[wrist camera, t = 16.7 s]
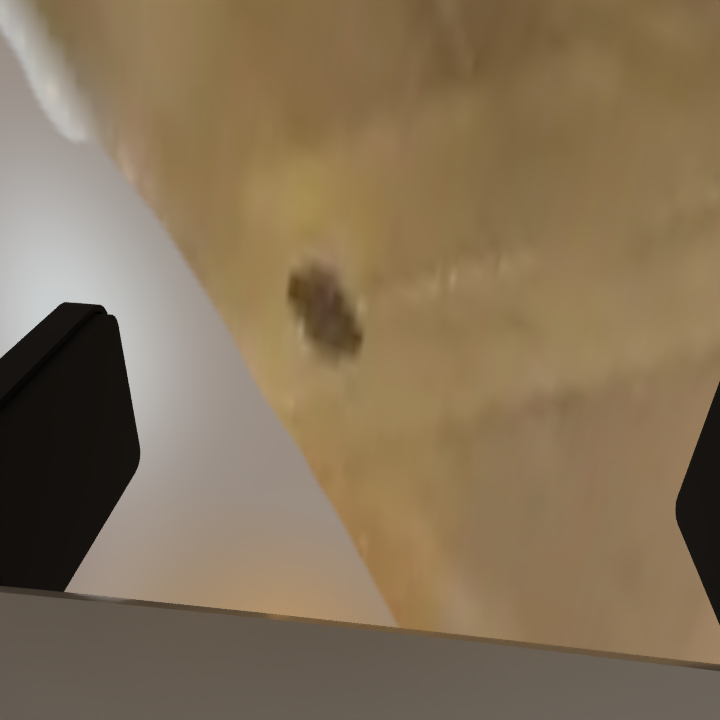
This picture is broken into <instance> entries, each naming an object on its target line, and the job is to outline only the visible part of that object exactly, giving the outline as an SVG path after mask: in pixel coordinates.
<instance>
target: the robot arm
mask: <svg viewBox="0 0 720 720" xmlns="http://www.w3.org/2000/svg"><path fill="white" fill-rule="evenodd" d="M139 460H140V445H139V439H138V434H137V428H136V423H135V417H134V411H133V406H132V400H131V394H130V388H129V383H128V377H127V371H126V366H125V360H124V354H123V349H122V343H121V337H120V332H119V326H118V322H117V319H116V318H115V316H113V315H108V314H107V311H106V310H105V308H104V307H103V306H101V305H95V304H82V303H69V302H64V303H62V304H60V305H59V306H58V307H57V308H56V309H55V310H54V311H53V312H51V313H50V314H49V315H48V316H47V317H46V318H45V319H44V320H43V321H41V322H40V323H39V324H38V325H37V326H36V327H35V328H34V329H33V330H31V331H30V332H29V333H28V334H27V335H26V336H25V337H24V338H22V339H21V340H20V341H19V342H18V343H17V344H16V345H15V346H14V347H12V349H10V350H9V351H8V352H7V353H6V354H5V355H4V356H3V357H2V358H0V720H720V665H719V664H710V663H702V662H693V661H685V660H676V659H667V658H659V657H650V656H641V655H633V654H624V653H616V652H607V651H598V650H590V649H581V648H573V647H564V646H555V645H547V644H538V643H530V642H521V641H512V640H503V639H494V638H485V637H476V636H467V635H458V634H450V633H441V632H432V631H423V630H414V629H405V628H396V627H387V626H377V625H369V624H359V623H349V622H341V621H332V620H322V619H313V618H304V617H295V616H286V615H277V614H267V613H259V612H248V611H240V610H229V609H220V608H211V607H202V606H201V607H200V606H191V605H182V604H173V603H163V602H153V601H144V600H134V599H125V598H116V597H106V596H97V595H87V594H77V593H68V592H64V591H65V589H66V587H67V586H68V584H69V582H70V581H71V579H72V577H73V576H74V574H75V572H76V571H77V569H78V567H79V565H80V564H81V562H82V561H83V559H84V557H85V555H86V554H87V552H88V551H89V549H90V547H91V546H92V544H93V542H94V541H95V539H96V537H97V536H98V534H99V532H100V530H101V529H102V527H103V525H104V524H105V522H106V521H107V519H108V517H109V516H110V514H111V512H112V511H113V509H114V507H115V506H116V504H117V502H118V501H119V499H120V497H121V496H122V494H123V492H124V491H125V489H126V487H127V485H128V484H129V482H130V480H131V479H132V477H133V475H134V474H135V472H136V470H137V467H138V465H139ZM676 520H677V523H678V526H679V528H680V531H681V533H682V535H683V538H684V540H685V543H686V545H687V547H688V550H689V552H690V555H691V557H692V559H693V562H694V564H695V567H696V569H697V571H698V574H699V576H700V579H701V581H702V584H703V586H704V588H705V591H706V593H707V596H708V598H709V600H710V603H711V605H712V608H713V610H714V612H715V615H716V617H717V620H718V622H719V624H720V382H719V385H718V387H717V390H716V393H715V396H714V398H713V401H712V404H711V407H710V409H709V412H708V415H707V418H706V420H705V423H704V426H703V429H702V431H701V434H700V437H699V439H698V442H697V445H696V448H695V450H694V453H693V456H692V459H691V461H690V464H689V467H688V470H687V472H686V475H685V478H684V481H683V483H682V486H681V489H680V492H679V494H678V497H677V501H676Z"/></svg>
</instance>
